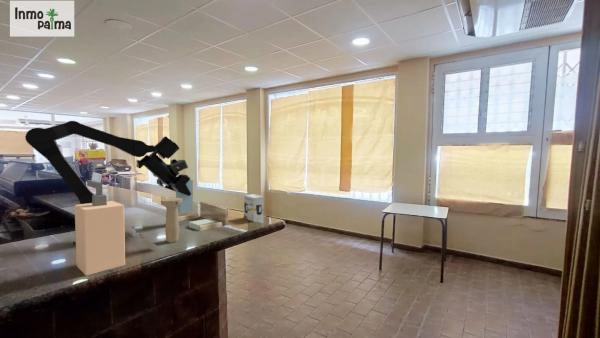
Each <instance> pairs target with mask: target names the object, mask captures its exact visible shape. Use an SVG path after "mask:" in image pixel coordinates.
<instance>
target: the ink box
mask: <svg viewBox="0 0 600 338" xmlns="http://www.w3.org/2000/svg"><path fill="white" fill-rule="evenodd" d="M243 219H245V220H247V221H250V222H253V223H254V222H256V223H260V224H262V223H263V224H264V196H263V195H259V194H255V193H252V194H245V195H243Z"/></svg>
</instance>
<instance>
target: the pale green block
mask: <svg viewBox="0 0 600 338" xmlns="http://www.w3.org/2000/svg"><path fill="white" fill-rule="evenodd" d="M212 223H217V221H215V220H211V219H206V218H203V219H198V221H197V220H193V222H192V221H189V222H188V227H189V228H190V229H194V230H197V231H200V230H199V226H202V225H207V224H212Z"/></svg>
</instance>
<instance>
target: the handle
mask: <svg viewBox="0 0 600 338" xmlns="http://www.w3.org/2000/svg"><path fill="white" fill-rule="evenodd" d="M181 203H183V199H182V198H176V197H172V198H171V197H168V198H163V199H160V204H161V205H162V206H164V207H165V210H166V212H165V229H164V230H165V239H166V242H167V243H176V242H178V240H179V235H180V223H179V222H180V221H178V217H179V212H178V206H179V205H180V204H181Z"/></svg>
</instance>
